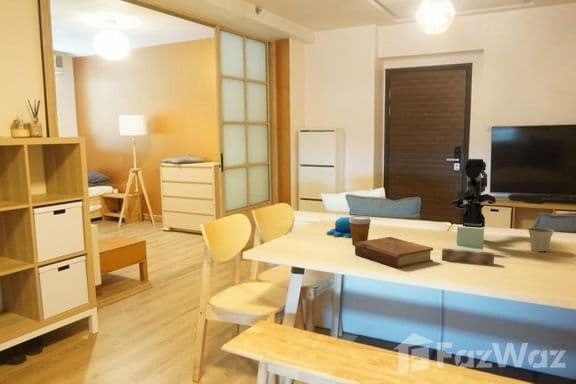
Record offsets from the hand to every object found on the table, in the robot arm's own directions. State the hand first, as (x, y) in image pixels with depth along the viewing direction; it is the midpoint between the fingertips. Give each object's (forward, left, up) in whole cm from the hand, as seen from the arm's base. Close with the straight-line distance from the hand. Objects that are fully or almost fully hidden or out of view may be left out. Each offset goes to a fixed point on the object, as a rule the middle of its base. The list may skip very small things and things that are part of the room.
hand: (472, 220), depth 197 cm
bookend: (+10, +12, -11) cm, 19 cm away
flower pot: (-21, +15, -11) cm, 28 cm away
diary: (+42, +8, -11) cm, 44 cm away
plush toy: (+42, -38, -11) cm, 58 cm away
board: (+18, +21, -11) cm, 30 cm away
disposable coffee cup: (+45, -16, -11) cm, 49 cm away
